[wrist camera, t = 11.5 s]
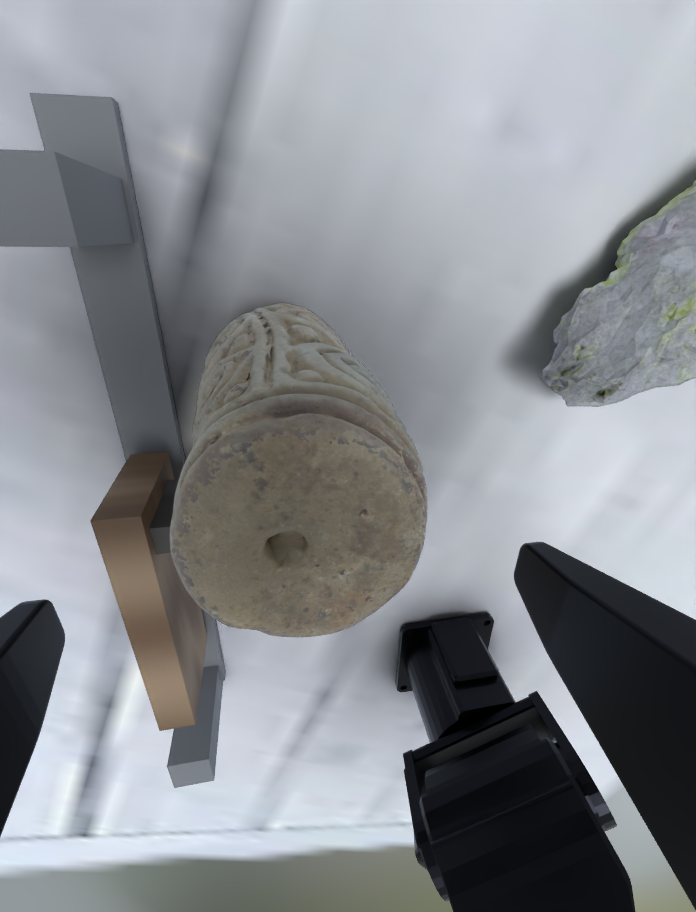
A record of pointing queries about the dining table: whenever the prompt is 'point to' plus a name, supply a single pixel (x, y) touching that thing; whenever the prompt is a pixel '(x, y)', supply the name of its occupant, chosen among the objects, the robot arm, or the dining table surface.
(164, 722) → the brown boxy piece
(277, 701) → the dining table surface
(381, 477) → the carving
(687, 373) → the rock
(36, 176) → the grey bracket bar
